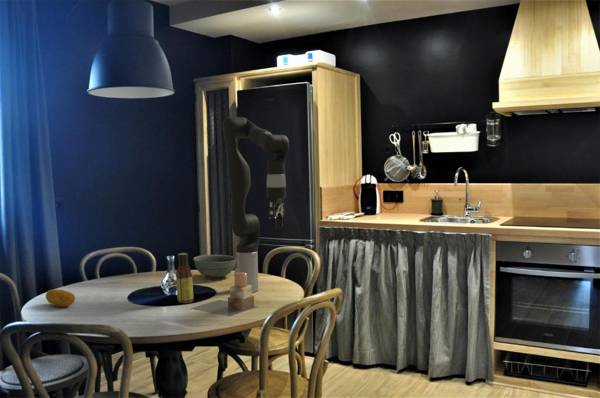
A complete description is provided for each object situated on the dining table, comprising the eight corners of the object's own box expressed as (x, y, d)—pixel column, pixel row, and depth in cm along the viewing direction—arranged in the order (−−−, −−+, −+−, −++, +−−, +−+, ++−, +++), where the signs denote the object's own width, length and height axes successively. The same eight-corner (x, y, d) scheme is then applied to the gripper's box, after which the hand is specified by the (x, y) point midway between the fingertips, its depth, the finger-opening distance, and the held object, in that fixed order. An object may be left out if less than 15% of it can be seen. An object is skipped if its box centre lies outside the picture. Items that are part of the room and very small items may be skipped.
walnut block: (228, 307, 217) (227, 297, 217) (240, 303, 223) (240, 293, 222) (242, 310, 213) (241, 299, 213) (254, 306, 219) (254, 295, 218)
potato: (61, 310, 218) (60, 293, 218) (42, 305, 226) (41, 288, 226) (79, 306, 224) (79, 289, 224) (60, 301, 233) (59, 285, 232)
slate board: (190, 310, 217) (190, 308, 217) (219, 301, 230) (219, 299, 230) (229, 318, 205) (229, 316, 205) (258, 308, 218) (258, 306, 218)
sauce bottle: (196, 301, 230) (195, 252, 229) (188, 305, 224) (187, 255, 223) (182, 300, 232) (180, 252, 231) (173, 304, 226) (172, 254, 225)
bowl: (195, 274, 286) (194, 254, 286) (237, 273, 288) (237, 253, 288) (192, 283, 266) (191, 261, 265) (237, 281, 268) (237, 260, 267)
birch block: (230, 297, 216) (229, 287, 216) (238, 294, 222) (238, 284, 221) (243, 299, 214) (243, 288, 213) (251, 295, 219) (251, 285, 219)
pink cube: (231, 286, 217) (231, 273, 216) (240, 284, 221) (240, 271, 220) (241, 288, 214) (241, 274, 214) (249, 285, 218) (249, 272, 218)
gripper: (280, 186, 216) (280, 229, 217) (290, 185, 230) (290, 225, 231) (261, 186, 218) (261, 229, 219) (272, 185, 232) (273, 225, 233)
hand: (276, 227), depth 225 cm, fingers open, 8 cm apart
